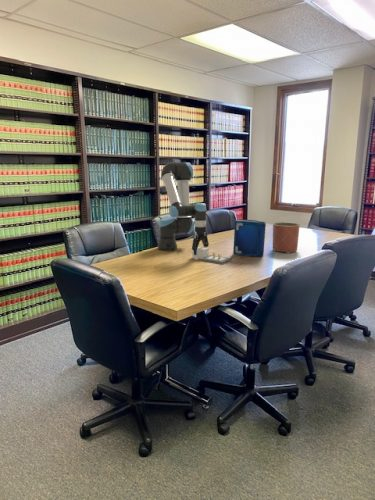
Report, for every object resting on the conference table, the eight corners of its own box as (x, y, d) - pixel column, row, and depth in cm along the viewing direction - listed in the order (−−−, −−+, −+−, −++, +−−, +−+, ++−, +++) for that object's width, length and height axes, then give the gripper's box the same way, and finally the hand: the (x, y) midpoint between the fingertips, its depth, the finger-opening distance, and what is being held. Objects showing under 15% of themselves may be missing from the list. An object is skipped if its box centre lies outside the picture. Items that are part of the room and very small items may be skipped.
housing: (192, 257, 255) (192, 247, 254) (196, 256, 260) (196, 246, 258) (204, 259, 250) (204, 249, 248) (208, 258, 254) (208, 248, 253)
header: (201, 260, 247) (201, 253, 246) (211, 257, 257) (211, 250, 256) (222, 264, 238) (222, 256, 237) (231, 260, 248) (231, 253, 247)
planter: (266, 250, 274) (267, 224, 270) (279, 246, 288) (280, 221, 283) (290, 254, 262) (291, 227, 257) (302, 250, 275) (304, 223, 271)
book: (265, 255, 261) (266, 220, 255) (263, 257, 254) (265, 221, 249) (234, 253, 268) (235, 219, 262) (232, 255, 261) (233, 220, 256)
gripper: (195, 229, 238) (195, 262, 243) (213, 224, 257) (213, 254, 262) (186, 228, 242) (186, 260, 247) (204, 223, 261) (204, 253, 266)
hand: (200, 257), depth 255 cm, fingers open, 11 cm apart
